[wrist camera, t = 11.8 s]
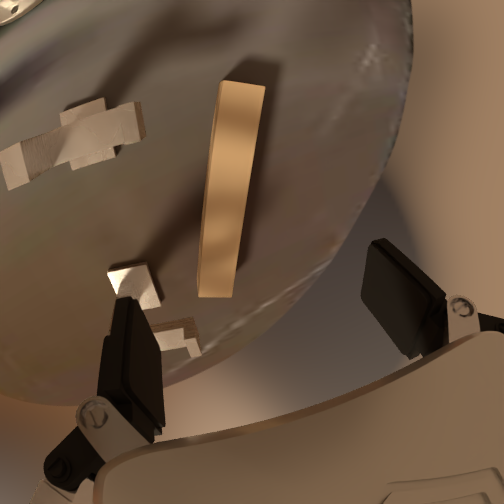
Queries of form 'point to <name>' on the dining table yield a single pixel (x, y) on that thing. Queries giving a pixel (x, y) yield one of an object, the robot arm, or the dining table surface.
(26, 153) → the bracket near
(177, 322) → the bracket far
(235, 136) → the rail
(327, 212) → the dining table surface
